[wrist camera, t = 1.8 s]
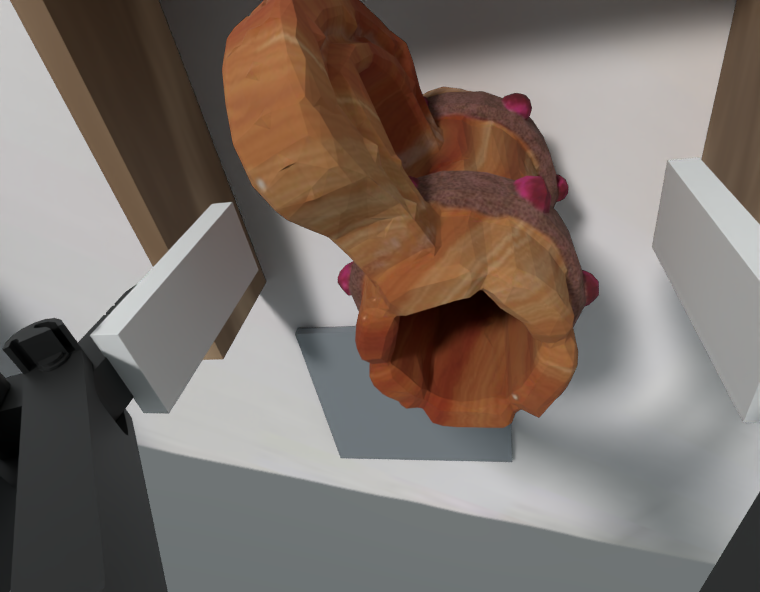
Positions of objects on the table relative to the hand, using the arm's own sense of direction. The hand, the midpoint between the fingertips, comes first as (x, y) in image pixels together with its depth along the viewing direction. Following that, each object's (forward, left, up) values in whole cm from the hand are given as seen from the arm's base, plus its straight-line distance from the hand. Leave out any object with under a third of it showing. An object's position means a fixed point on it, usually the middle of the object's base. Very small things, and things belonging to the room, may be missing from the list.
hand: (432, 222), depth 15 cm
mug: (0, 0, -11) cm, 11 cm away
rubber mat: (-4, -20, -10) cm, 23 cm away
